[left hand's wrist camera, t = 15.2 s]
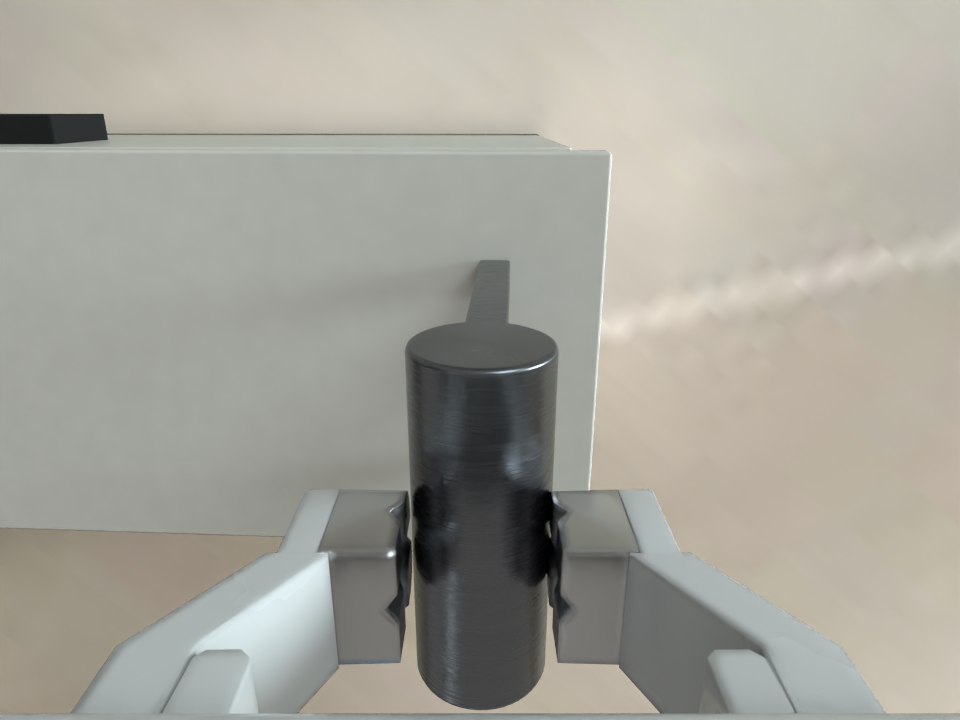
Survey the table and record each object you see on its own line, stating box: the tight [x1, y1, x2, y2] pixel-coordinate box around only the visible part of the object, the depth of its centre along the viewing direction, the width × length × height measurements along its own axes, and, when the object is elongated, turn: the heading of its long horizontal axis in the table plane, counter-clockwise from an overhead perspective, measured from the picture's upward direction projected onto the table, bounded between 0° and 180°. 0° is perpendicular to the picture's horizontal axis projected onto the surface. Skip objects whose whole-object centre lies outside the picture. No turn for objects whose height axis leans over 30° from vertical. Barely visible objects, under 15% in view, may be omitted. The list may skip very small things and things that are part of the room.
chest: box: [0, 134, 571, 150], centre depth 22 cm, size 17×10×9 cm, turn 90°
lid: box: [0, 148, 612, 710], centre depth 14 cm, size 18×10×8 cm, turn 90°
